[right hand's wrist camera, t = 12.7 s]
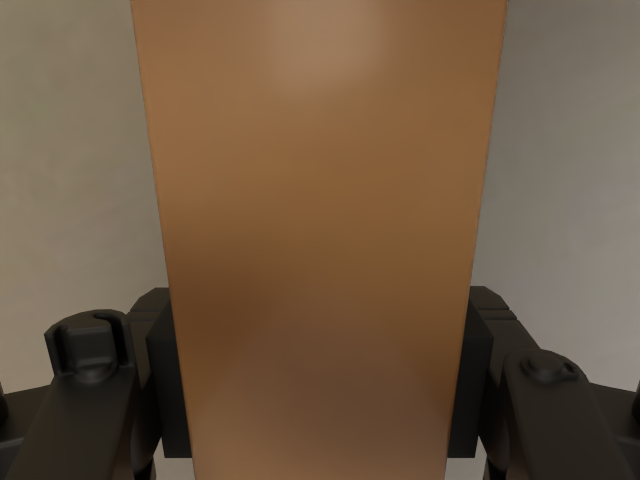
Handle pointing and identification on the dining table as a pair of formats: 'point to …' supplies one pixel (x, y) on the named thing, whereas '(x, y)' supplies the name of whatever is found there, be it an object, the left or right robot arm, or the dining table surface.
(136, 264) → the dining table surface
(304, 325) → the beam
